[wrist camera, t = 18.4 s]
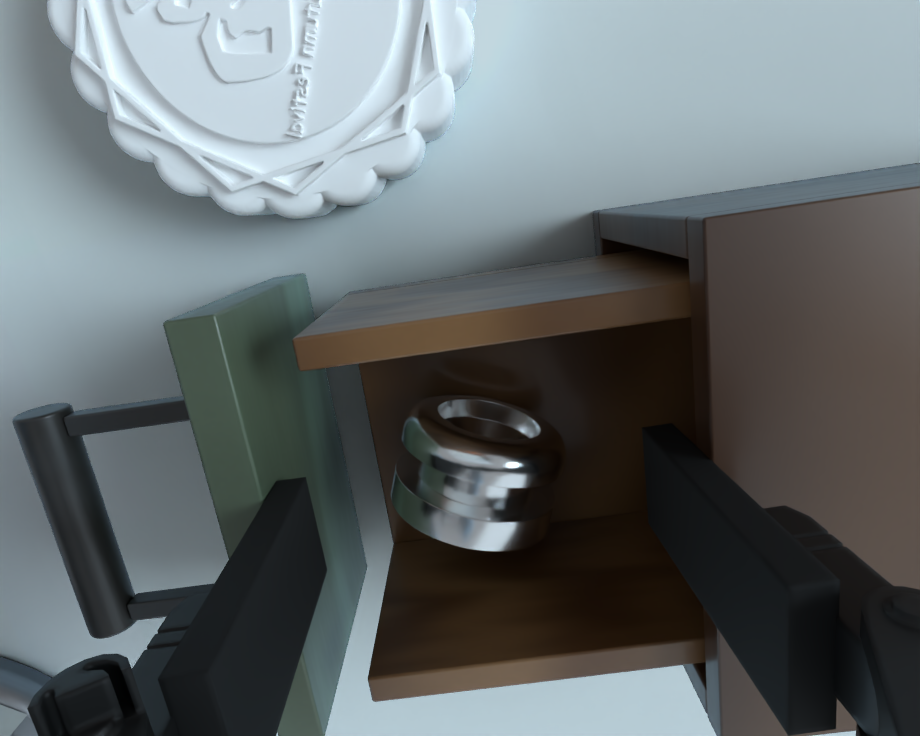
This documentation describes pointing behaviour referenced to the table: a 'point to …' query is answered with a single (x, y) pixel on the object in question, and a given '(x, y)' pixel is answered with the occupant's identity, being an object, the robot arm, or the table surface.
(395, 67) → the mooncake
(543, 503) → the grooved metal pulley
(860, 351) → the cabinet
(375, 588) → the table surface
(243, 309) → the drawer
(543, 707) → the table surface
